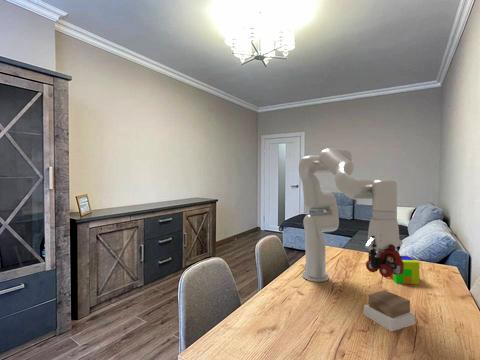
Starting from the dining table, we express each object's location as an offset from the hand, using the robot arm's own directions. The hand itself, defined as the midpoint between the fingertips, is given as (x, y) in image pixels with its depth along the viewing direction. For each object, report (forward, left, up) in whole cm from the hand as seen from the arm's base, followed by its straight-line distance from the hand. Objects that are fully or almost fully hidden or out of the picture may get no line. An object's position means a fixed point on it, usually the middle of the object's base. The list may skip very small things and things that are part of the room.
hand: (384, 266), depth 91 cm
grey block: (0, +2, -19) cm, 19 cm away
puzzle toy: (-23, +39, -19) cm, 49 cm away
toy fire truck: (0, 0, -3) cm, 3 cm away
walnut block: (0, +2, -15) cm, 15 cm away
